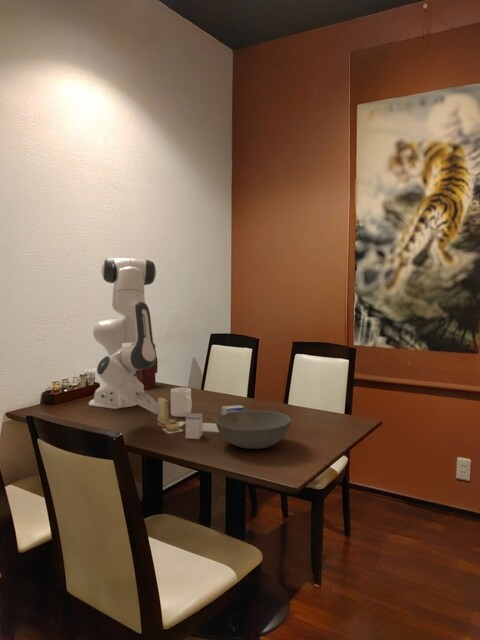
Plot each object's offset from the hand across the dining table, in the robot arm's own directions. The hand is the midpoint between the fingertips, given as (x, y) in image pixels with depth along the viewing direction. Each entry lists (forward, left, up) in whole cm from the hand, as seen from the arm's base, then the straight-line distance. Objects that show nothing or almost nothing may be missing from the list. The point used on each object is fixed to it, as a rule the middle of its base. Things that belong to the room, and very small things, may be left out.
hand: (156, 412), depth 201 cm
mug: (+5, +19, -6) cm, 21 cm away
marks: (+5, +2, -6) cm, 8 cm away
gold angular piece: (+4, +1, -6) cm, 7 cm away
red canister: (-29, +65, -6) cm, 72 cm away
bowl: (+40, -12, -7) cm, 42 cm away
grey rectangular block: (+17, -7, -6) cm, 20 cm away
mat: (+20, +4, -6) cm, 22 cm away
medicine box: (+29, +5, -6) cm, 30 cm away
